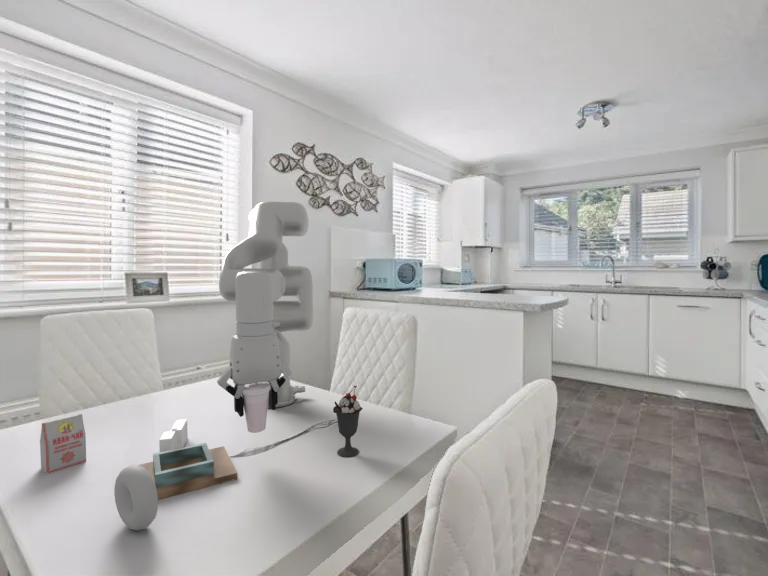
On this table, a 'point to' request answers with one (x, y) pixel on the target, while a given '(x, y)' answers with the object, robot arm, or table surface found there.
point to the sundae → (347, 422)
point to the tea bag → (62, 443)
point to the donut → (136, 497)
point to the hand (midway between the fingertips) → (256, 410)
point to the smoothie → (256, 405)
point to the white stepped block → (174, 436)
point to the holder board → (189, 469)
